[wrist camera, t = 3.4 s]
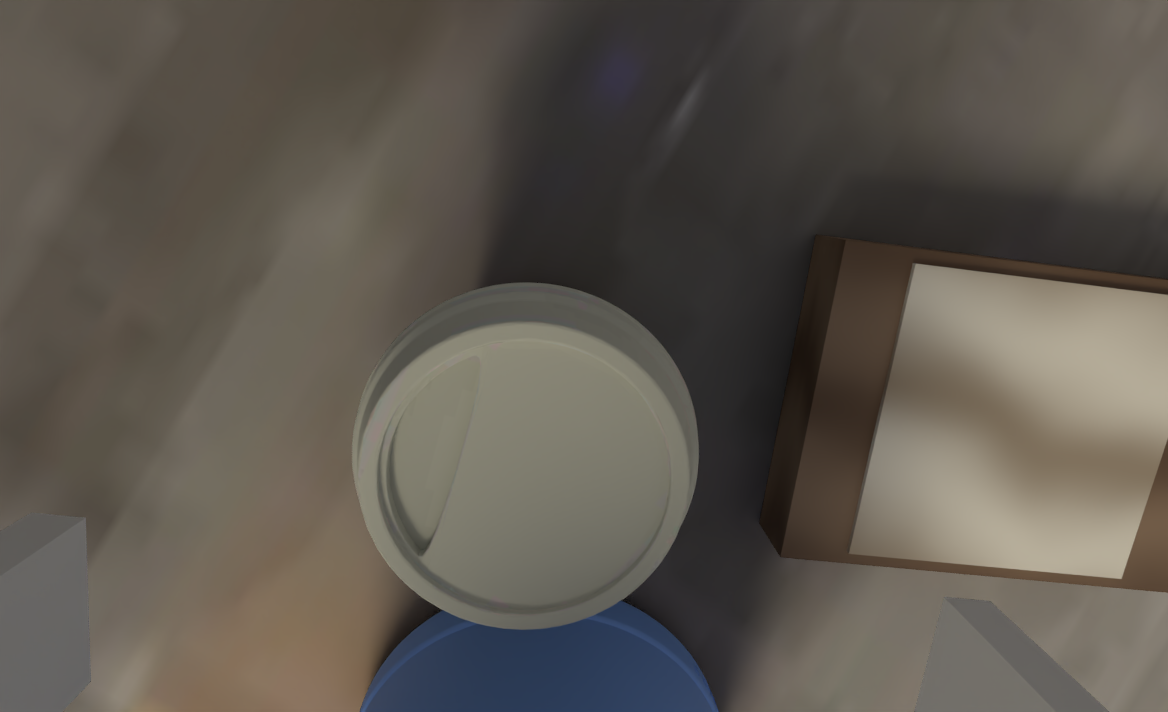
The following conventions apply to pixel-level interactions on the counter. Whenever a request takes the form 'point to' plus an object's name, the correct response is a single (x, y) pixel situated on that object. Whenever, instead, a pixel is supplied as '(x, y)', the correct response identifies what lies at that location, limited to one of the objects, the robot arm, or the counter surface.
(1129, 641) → the counter surface
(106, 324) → the counter surface
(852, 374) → the walnut plinth
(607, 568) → the coffee cup
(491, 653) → the water jug
